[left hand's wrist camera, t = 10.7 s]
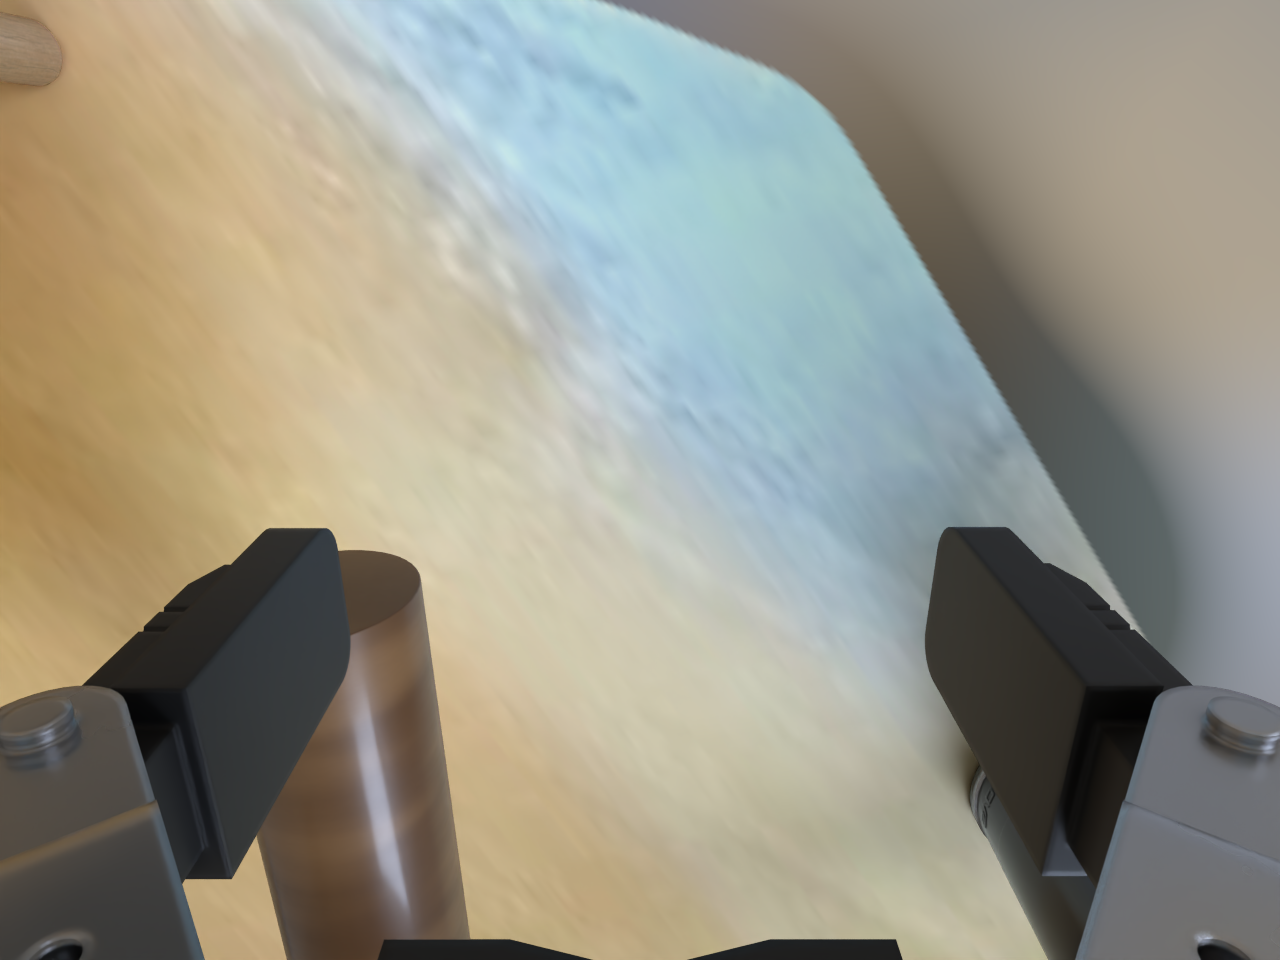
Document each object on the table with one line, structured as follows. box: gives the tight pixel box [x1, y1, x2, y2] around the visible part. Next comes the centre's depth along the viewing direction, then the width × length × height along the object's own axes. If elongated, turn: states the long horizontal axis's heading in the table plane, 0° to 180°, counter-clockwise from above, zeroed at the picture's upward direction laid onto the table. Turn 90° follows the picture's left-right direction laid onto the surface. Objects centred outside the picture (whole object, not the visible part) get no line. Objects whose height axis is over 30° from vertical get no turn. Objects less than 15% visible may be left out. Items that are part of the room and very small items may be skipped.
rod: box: [257, 550, 470, 960], centre depth 29 cm, size 24×6×6 cm, turn 2°
